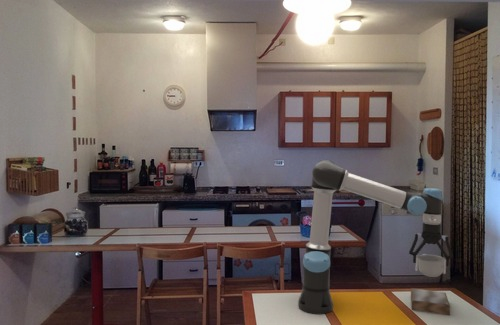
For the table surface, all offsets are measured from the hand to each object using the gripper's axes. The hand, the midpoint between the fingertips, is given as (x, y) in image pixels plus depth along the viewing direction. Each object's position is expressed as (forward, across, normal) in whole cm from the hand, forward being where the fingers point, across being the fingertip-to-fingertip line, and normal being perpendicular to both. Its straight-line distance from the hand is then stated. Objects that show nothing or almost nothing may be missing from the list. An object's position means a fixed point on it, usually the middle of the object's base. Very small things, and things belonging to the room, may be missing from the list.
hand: (430, 271), depth 185 cm
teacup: (+1, 0, 0) cm, 1 cm away
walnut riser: (+15, 0, 0) cm, 15 cm away
